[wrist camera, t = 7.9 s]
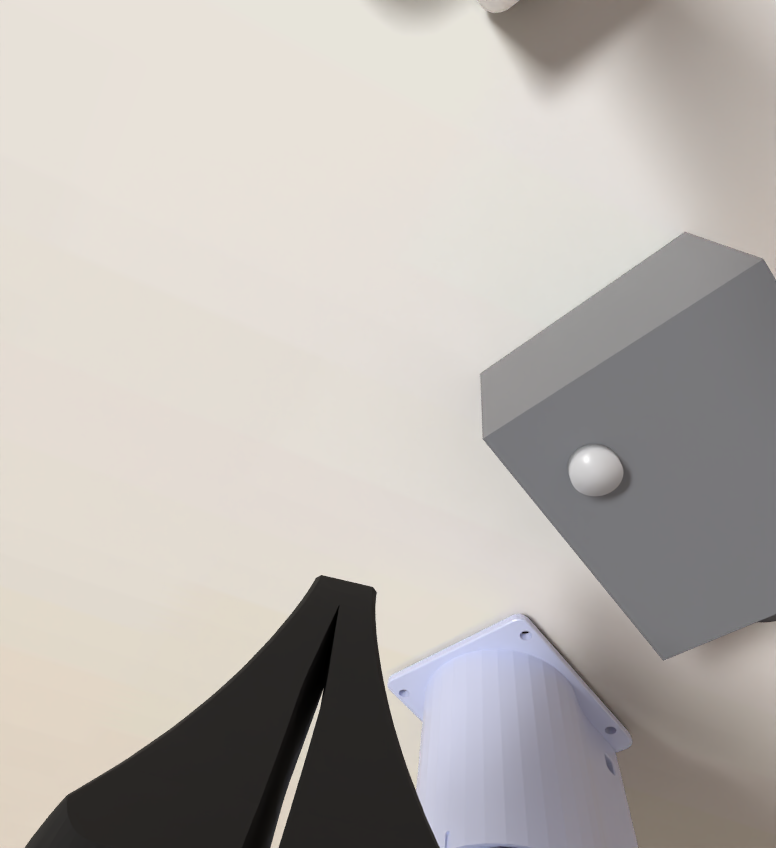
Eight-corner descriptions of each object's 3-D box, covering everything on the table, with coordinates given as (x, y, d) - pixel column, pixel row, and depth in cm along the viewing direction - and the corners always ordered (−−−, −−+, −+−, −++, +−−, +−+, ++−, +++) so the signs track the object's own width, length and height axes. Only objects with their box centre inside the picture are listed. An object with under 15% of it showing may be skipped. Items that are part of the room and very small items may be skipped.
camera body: (844, 484, 21) (972, 595, 16) (642, 580, 24) (691, 701, 19) (688, 229, 18) (777, 259, 13) (480, 373, 21) (482, 446, 16)
